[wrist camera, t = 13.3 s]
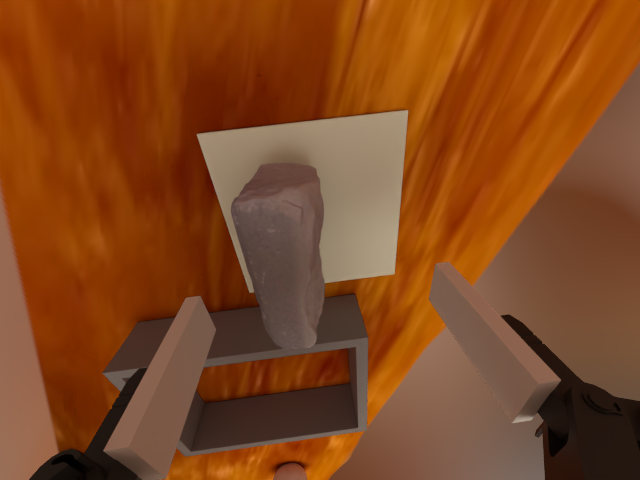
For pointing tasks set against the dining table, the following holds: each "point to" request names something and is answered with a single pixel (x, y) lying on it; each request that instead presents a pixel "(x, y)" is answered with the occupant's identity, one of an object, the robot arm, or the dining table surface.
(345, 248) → the board
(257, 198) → the stone block
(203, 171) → the dining table surface
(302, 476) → the teacup
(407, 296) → the dining table surface
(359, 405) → the access frame
